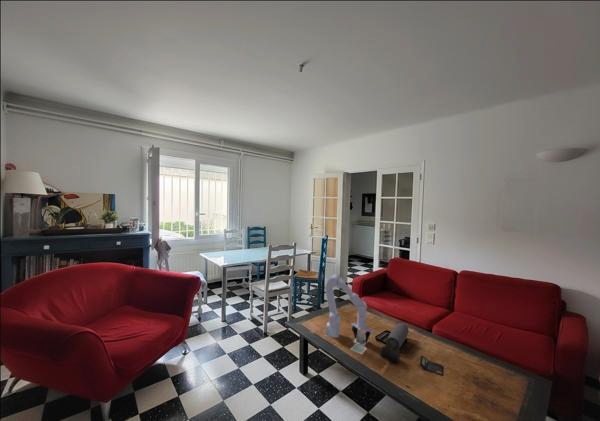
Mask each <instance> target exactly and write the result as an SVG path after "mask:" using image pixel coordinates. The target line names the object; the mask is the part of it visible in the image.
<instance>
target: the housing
mask: <svg viewBox="0 0 600 421" xmlns="http://www.w3.org/2000/svg"><path fill="white" fill-rule="evenodd" d="M365 333H366V332H365V331H362V330H361V331H360V330H359V332H357V335H356V342H358V343H360V344H363V343H364V342H365V341H366V336H365ZM360 344H359V345H360Z"/></svg>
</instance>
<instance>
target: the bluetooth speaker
mask: <svg viewBox="0 0 600 421" xmlns="http://www.w3.org/2000/svg"><path fill="white" fill-rule="evenodd" d="M408 335H409V326H407V325H406V324H405V323H403V322H400V323H398V324H397V325H396V326H395V327H394V328H393V329H392V330H391V332H390V333H389V334H388V337H387V339H386V345H388V346H390V349H391V350H394V349H395V348H396V349H399V350H400V348H401V347H402V346H403V344H404V342H405V340H406V339H407V336H408Z"/></svg>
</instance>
